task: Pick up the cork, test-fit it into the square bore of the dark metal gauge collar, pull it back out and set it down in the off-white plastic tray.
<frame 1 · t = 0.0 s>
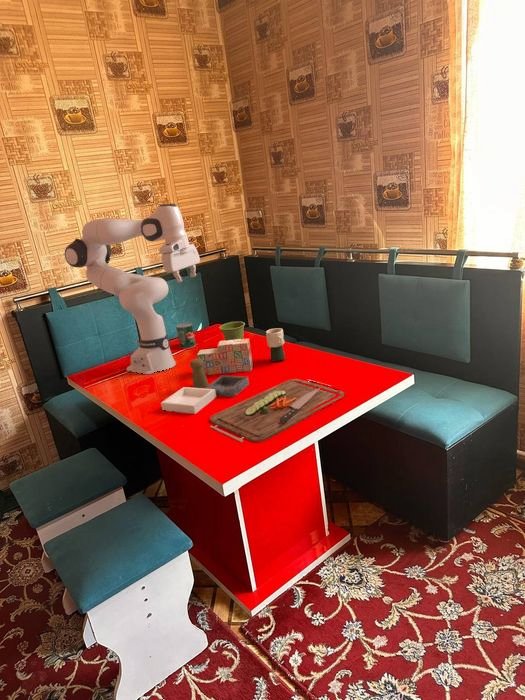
hand: (187, 279, 204), 39 cm above the table, tool pointing down, fingers open, 8 cm apart
plant pot: (235, 348, 238), on the table
canned tomato: (188, 346, 252), on the table
cork: (201, 386, 197), on the table
chopping board: (278, 409, 169), on the table
character mug: (278, 360, 214), on the table
stack of blocks: (227, 371, 210), on the table
tray: (189, 403, 182), on the table
gauge collar: (228, 389, 190), on the table
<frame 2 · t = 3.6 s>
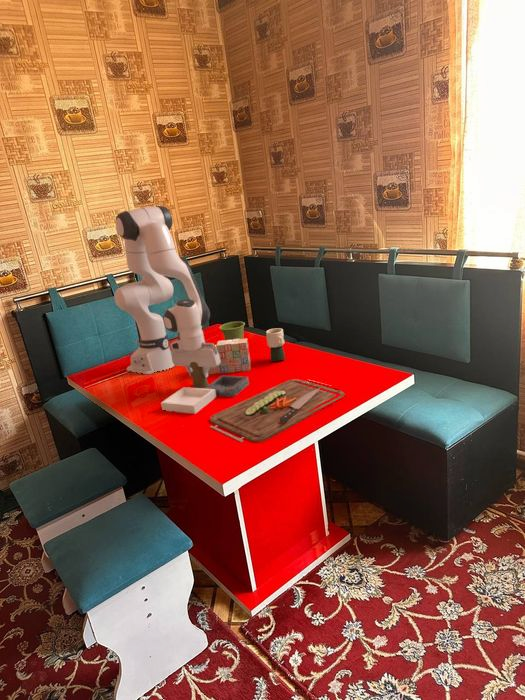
hand: (199, 376, 196), 4 cm above the table, tool pointing down, fingers closed on cork, 5 cm apart
cork: (201, 386, 197), on the table, touching gripper
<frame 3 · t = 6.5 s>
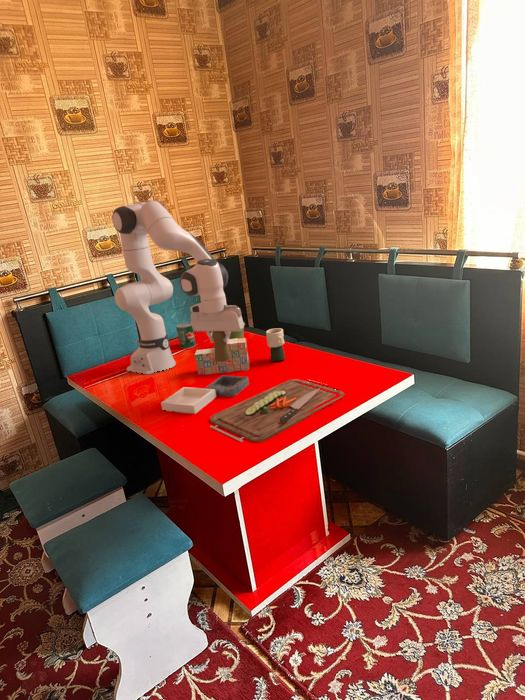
hand: (220, 342, 185), 19 cm above the table, tool pointing down, fingers closed on cork, 4 cm apart
cork: (223, 359, 186), point 12 cm above the table, touching gripper
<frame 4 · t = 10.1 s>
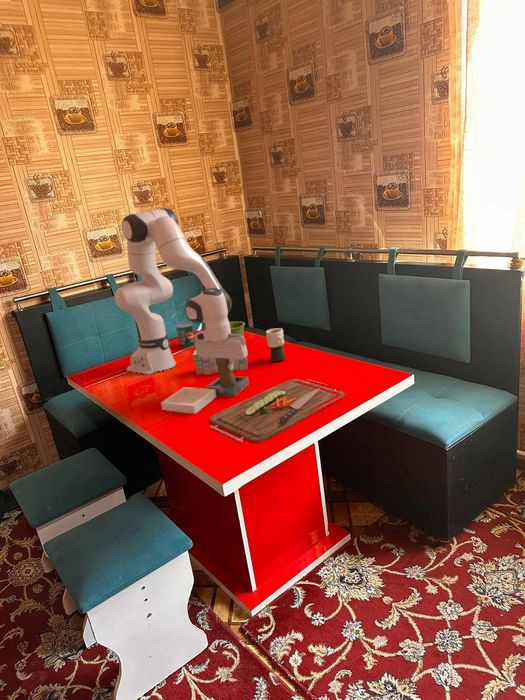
hand: (224, 368, 188), 8 cm above the table, tool pointing down, fingers closed on cork, 4 cm apart
cork: (228, 384, 189), point 2 cm above the table, touching gripper
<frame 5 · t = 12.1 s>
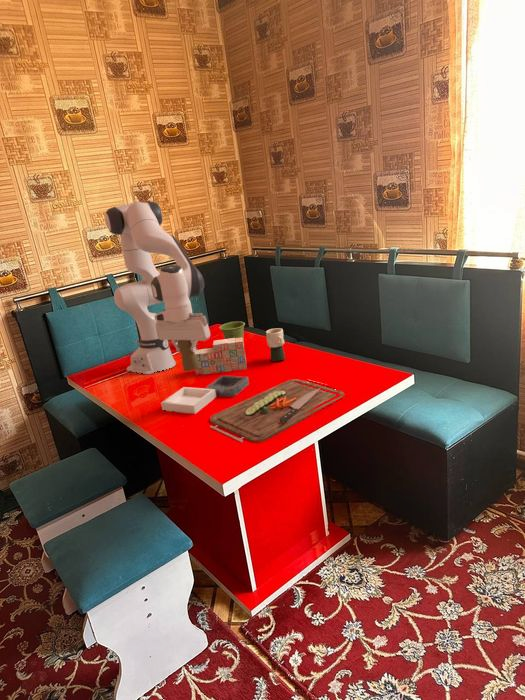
hand: (186, 351, 178), 19 cm above the table, tool pointing down, fingers closed on cork, 4 cm apart
cork: (191, 368, 179), point 13 cm above the table, touching gripper
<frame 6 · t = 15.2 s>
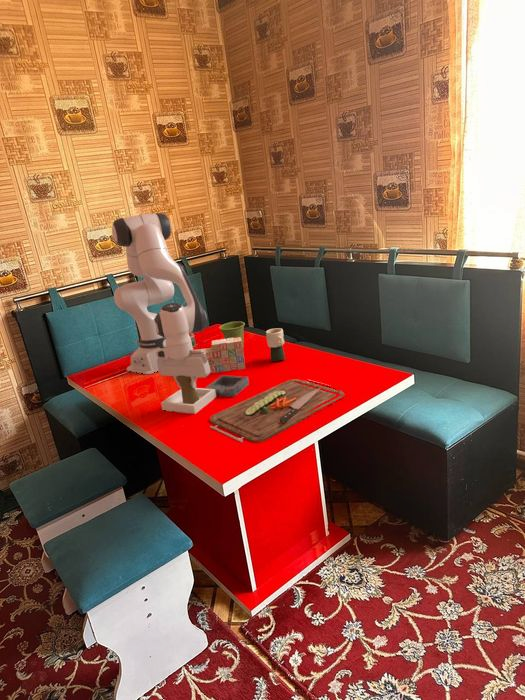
hand: (187, 387, 180), 7 cm above the table, tool pointing down, fingers closed on cork, 4 cm apart
cork: (191, 402, 181), point 1 cm above the table, touching gripper, tray
when the fingers open (7 cm above the table, at t = 15.2 s): cork stays where it is, point 1 cm above the table.
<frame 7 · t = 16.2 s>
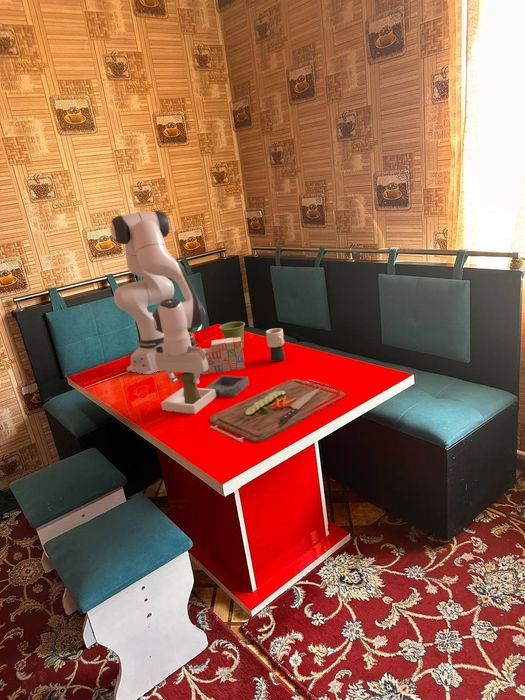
hand: (185, 382, 180), 8 cm above the table, tool pointing down, fingers open, 8 cm apart
cork: (193, 402, 181), point 1 cm above the table, touching gripper
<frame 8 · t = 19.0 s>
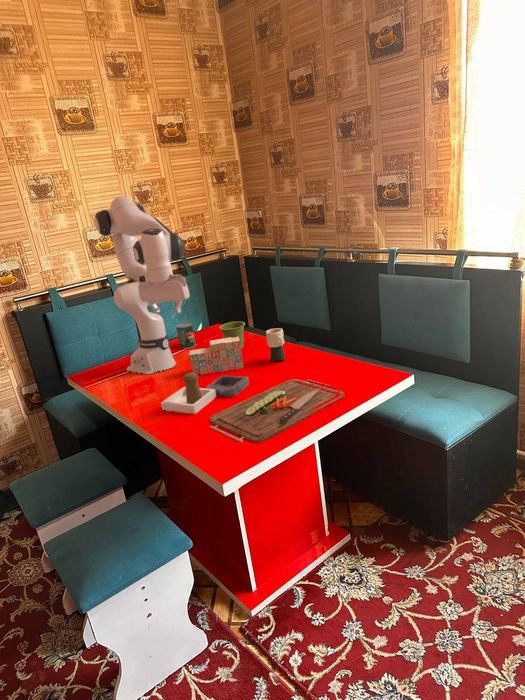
hand: (167, 312, 186), 31 cm above the table, tool pointing down, fingers open, 8 cm apart
cork: (195, 402, 181), resting on tray
at the end: cork inside the target area on the tray (2.3 cm from its centre), point 0.4 cm above the tray's base; cork tilted 0°; the gripper is holding nothing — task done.
